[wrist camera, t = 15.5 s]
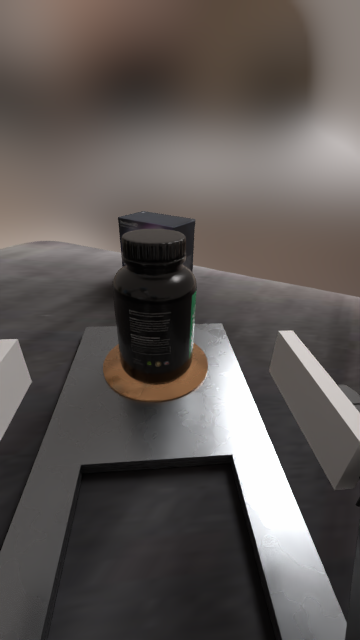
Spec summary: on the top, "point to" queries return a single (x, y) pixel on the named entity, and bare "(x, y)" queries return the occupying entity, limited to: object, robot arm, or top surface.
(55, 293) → the top surface
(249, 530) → the rail plate
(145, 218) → the small box
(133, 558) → the top surface
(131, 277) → the supplement bottle
